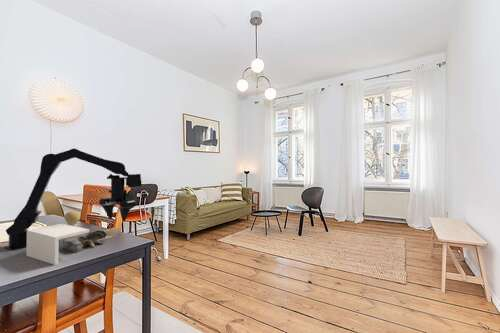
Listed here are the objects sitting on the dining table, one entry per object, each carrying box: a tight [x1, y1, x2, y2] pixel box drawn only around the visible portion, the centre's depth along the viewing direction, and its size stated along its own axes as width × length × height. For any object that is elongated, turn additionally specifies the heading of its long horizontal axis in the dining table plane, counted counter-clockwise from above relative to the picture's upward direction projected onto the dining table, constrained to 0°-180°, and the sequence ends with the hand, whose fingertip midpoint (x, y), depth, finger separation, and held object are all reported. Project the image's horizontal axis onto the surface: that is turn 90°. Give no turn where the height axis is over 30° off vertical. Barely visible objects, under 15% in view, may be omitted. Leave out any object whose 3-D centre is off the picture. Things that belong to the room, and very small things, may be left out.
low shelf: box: [25, 223, 90, 266], centre depth 92 cm, size 18×12×10 cm, turn 66°
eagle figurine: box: [78, 230, 107, 249], centre depth 102 cm, size 8×7×9 cm
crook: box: [62, 226, 122, 253], centre depth 108 cm, size 10×24×4 cm, turn 154°
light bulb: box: [64, 210, 81, 227], centre depth 124 cm, size 6×6×10 cm
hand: (117, 220), depth 118 cm, fingers open, 9 cm apart
